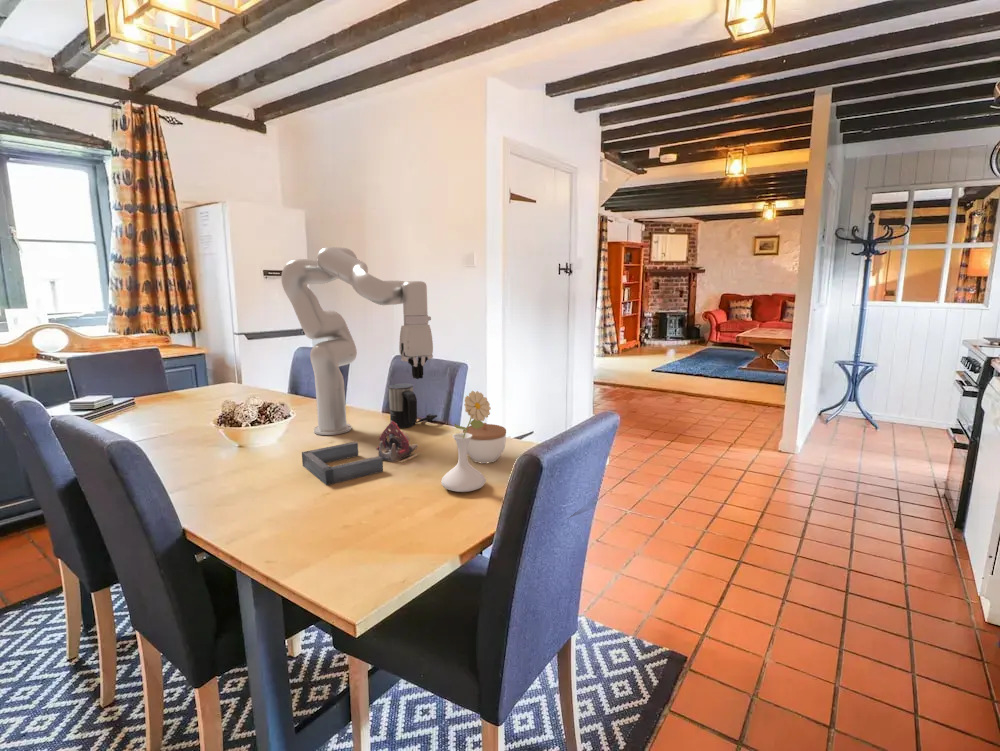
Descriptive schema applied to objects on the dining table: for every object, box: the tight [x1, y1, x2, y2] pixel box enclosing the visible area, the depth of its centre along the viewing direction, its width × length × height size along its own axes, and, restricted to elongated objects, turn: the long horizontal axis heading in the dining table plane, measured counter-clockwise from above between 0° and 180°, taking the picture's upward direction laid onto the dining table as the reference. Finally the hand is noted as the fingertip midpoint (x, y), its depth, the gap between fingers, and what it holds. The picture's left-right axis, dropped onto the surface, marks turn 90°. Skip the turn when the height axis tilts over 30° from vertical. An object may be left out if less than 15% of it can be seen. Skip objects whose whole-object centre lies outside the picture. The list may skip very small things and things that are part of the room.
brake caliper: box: [375, 421, 419, 463], centre depth 162 cm, size 11×11×12 cm
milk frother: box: [387, 382, 438, 429], centre depth 196 cm, size 14×16×15 cm
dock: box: [301, 441, 384, 486], centre depth 152 cm, size 19×16×4 cm
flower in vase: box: [440, 390, 491, 493], centre depth 136 cm, size 13×11×25 cm
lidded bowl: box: [462, 422, 507, 464], centre depth 158 cm, size 13×13×11 cm
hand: (417, 377), depth 173 cm, fingers closed
